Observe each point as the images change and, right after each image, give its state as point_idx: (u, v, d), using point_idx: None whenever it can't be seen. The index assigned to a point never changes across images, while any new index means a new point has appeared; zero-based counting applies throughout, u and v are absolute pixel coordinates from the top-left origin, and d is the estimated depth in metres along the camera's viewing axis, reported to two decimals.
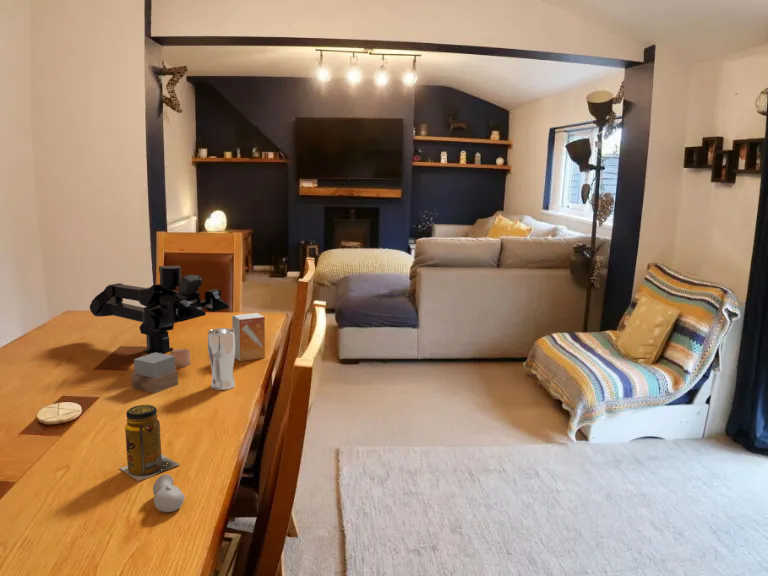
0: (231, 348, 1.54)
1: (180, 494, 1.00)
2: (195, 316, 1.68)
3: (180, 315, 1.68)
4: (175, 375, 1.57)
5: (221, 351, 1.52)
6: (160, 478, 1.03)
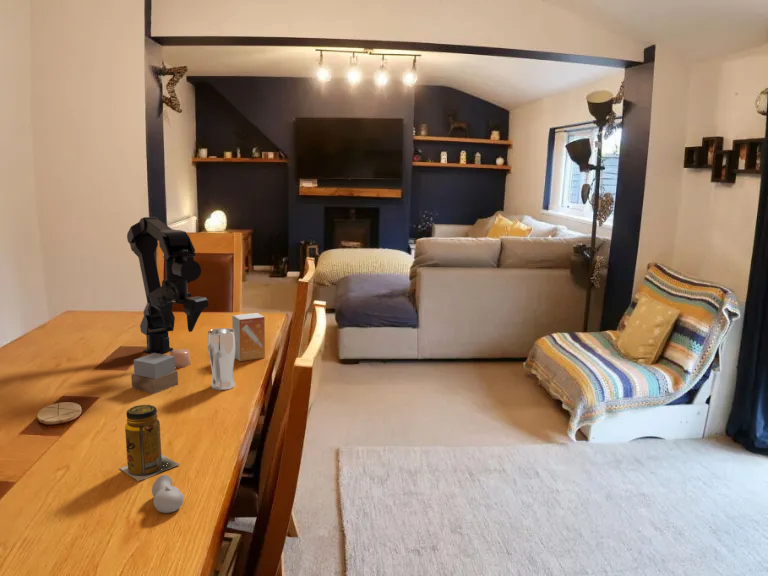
0: (231, 348, 1.54)
1: (180, 494, 1.00)
2: None
3: None
4: (175, 376, 1.57)
5: (221, 351, 1.52)
6: (159, 479, 1.02)
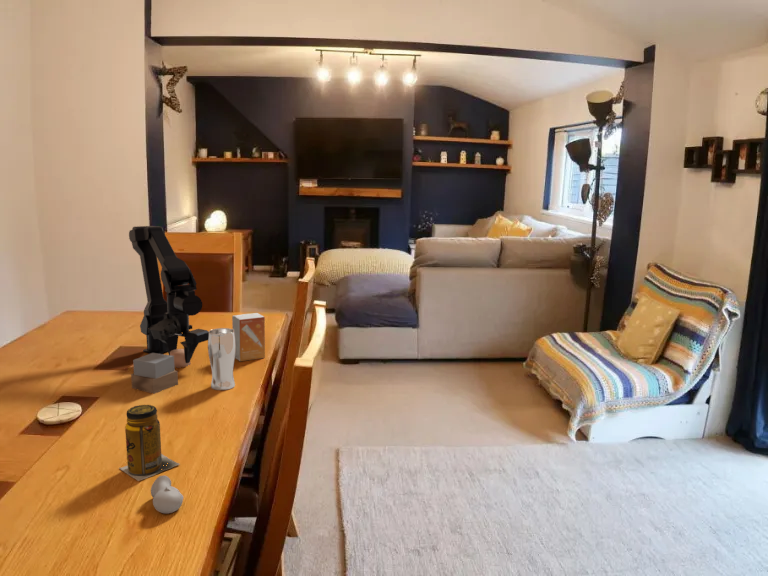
0: (231, 348, 1.54)
1: (179, 495, 1.00)
2: None
3: None
4: (175, 376, 1.57)
5: (221, 351, 1.52)
6: (158, 479, 1.02)
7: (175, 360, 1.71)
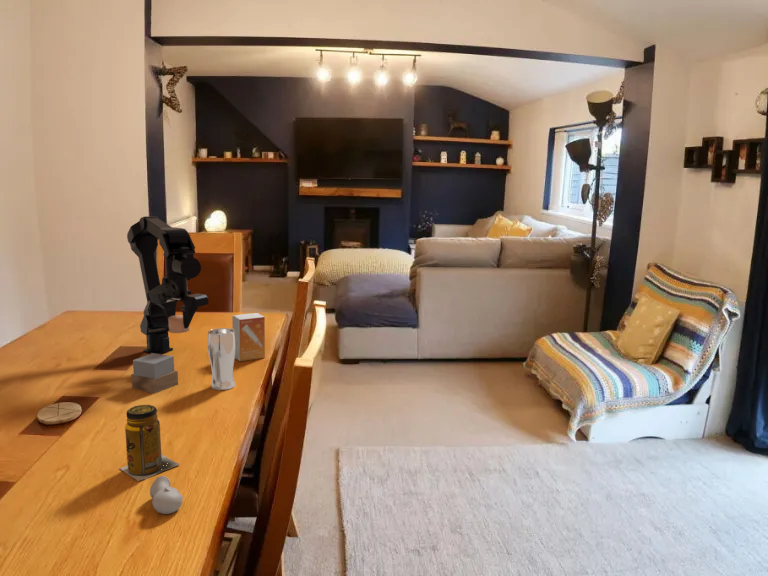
0: (231, 348, 1.54)
1: (179, 495, 0.99)
2: None
3: None
4: (175, 376, 1.57)
5: (221, 351, 1.52)
6: (157, 480, 1.02)
7: (173, 325, 1.69)
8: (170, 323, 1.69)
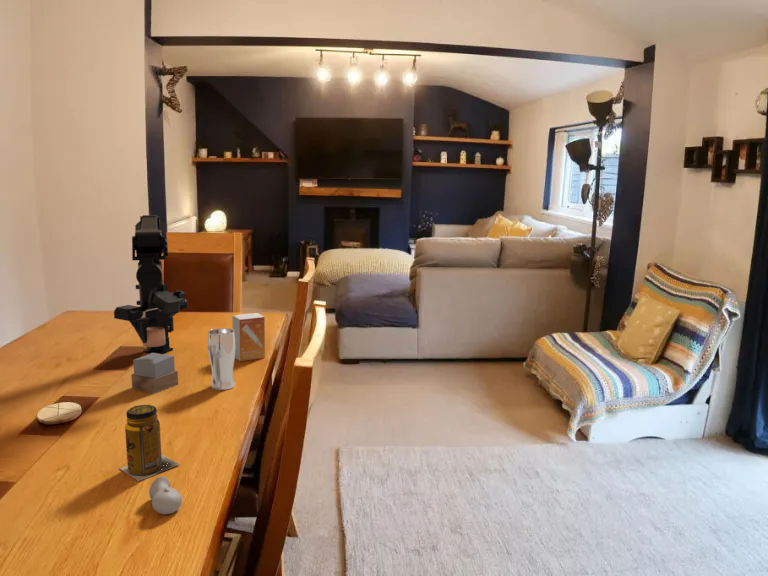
0: (231, 348, 1.54)
1: (178, 496, 0.99)
2: (137, 332, 1.51)
3: None
4: (175, 376, 1.57)
5: (221, 351, 1.52)
6: (156, 480, 1.02)
7: (163, 336, 1.54)
8: (160, 335, 1.53)
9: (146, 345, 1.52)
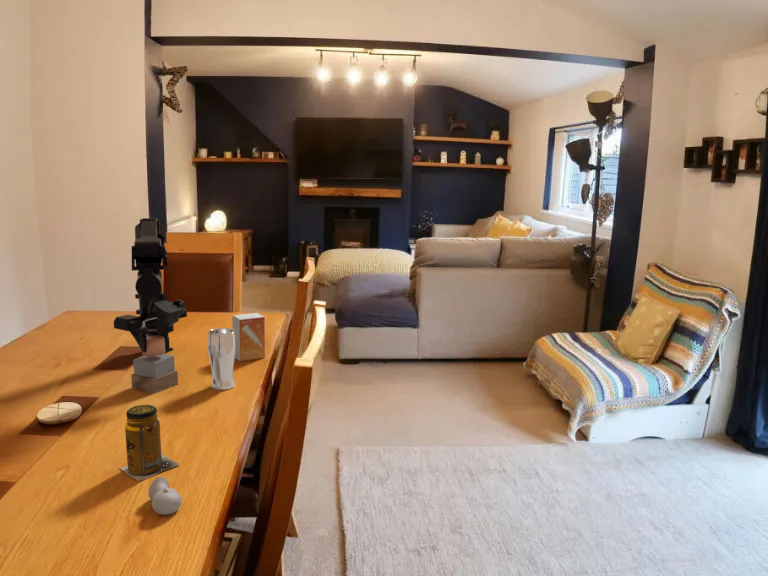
0: (231, 348, 1.54)
1: (178, 496, 0.99)
2: (137, 341, 1.51)
3: None
4: (175, 376, 1.57)
5: (221, 351, 1.52)
6: (156, 481, 1.02)
7: (163, 345, 1.54)
8: (159, 345, 1.53)
9: (146, 354, 1.52)
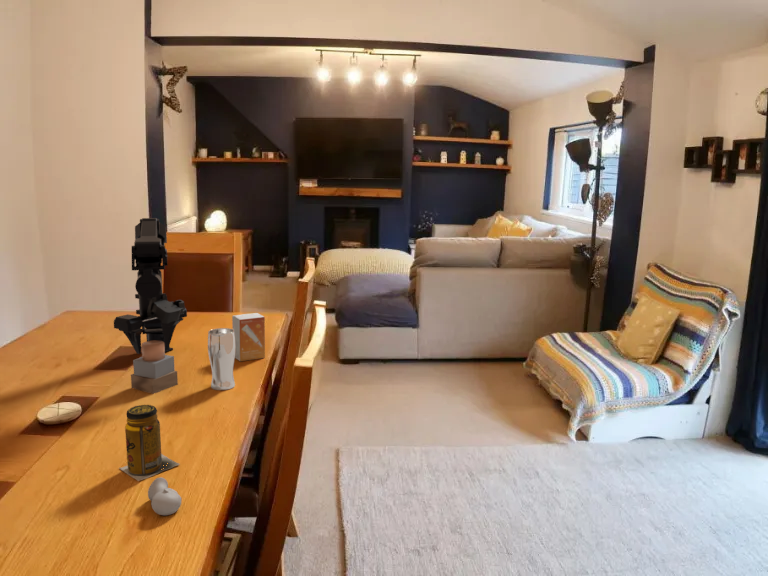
0: (231, 348, 1.54)
1: (178, 496, 0.99)
2: (131, 343, 1.50)
3: None
4: (174, 376, 1.57)
5: (221, 351, 1.52)
6: (155, 481, 1.02)
7: (163, 351, 1.54)
8: (159, 350, 1.53)
9: (145, 359, 1.53)
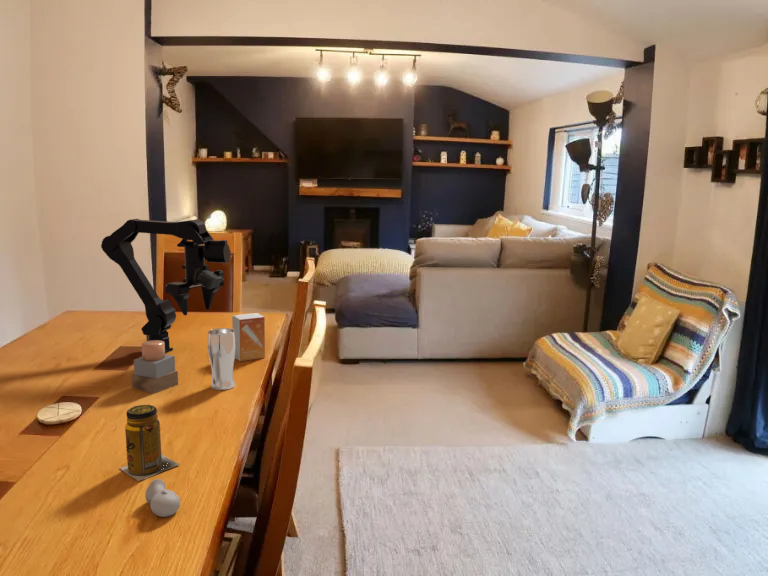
0: (231, 348, 1.54)
1: (177, 497, 0.99)
2: (179, 306, 1.78)
3: None
4: (175, 376, 1.57)
5: (221, 351, 1.52)
6: (153, 483, 1.01)
7: (163, 350, 1.54)
8: (160, 350, 1.53)
9: (146, 359, 1.52)
